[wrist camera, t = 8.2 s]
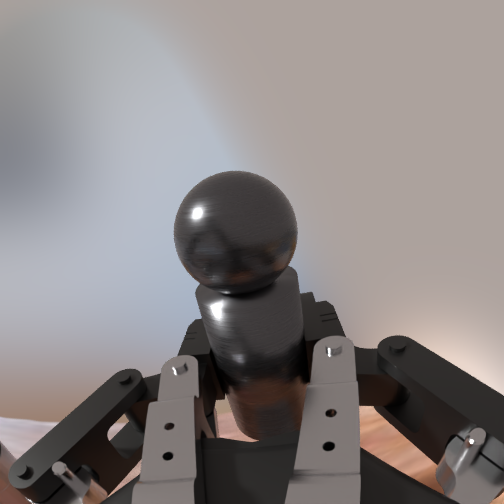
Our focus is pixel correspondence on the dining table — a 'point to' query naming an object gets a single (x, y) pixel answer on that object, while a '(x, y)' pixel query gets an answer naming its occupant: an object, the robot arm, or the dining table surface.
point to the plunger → (248, 296)
